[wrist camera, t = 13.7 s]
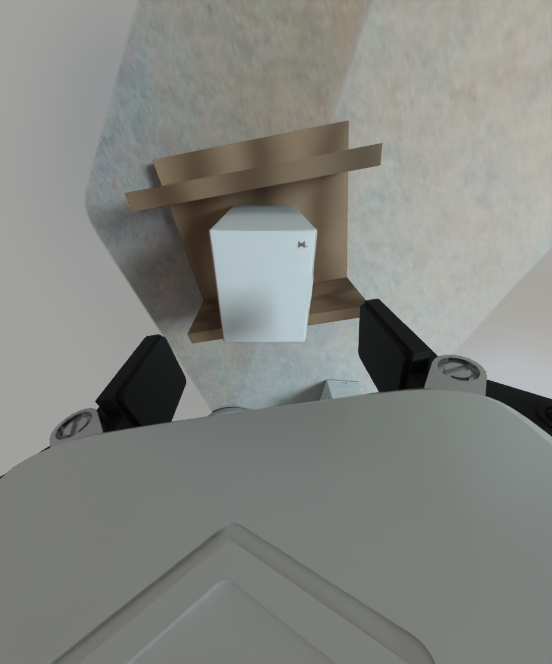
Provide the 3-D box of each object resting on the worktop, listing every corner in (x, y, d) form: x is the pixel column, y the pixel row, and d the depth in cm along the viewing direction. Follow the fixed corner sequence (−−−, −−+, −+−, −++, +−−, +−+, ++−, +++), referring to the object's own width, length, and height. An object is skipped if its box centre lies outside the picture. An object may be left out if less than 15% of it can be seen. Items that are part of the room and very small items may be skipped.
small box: (233, 203, 24) (206, 226, 13) (295, 204, 24) (320, 227, 13) (238, 280, 28) (222, 344, 17) (291, 280, 28) (307, 343, 17)
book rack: (343, 123, 22) (385, 95, 14) (343, 297, 32) (367, 334, 24) (158, 160, 23) (105, 152, 15) (214, 318, 33) (199, 360, 25)
